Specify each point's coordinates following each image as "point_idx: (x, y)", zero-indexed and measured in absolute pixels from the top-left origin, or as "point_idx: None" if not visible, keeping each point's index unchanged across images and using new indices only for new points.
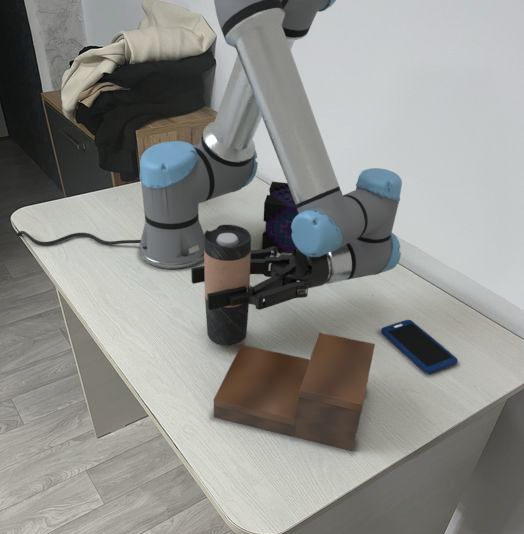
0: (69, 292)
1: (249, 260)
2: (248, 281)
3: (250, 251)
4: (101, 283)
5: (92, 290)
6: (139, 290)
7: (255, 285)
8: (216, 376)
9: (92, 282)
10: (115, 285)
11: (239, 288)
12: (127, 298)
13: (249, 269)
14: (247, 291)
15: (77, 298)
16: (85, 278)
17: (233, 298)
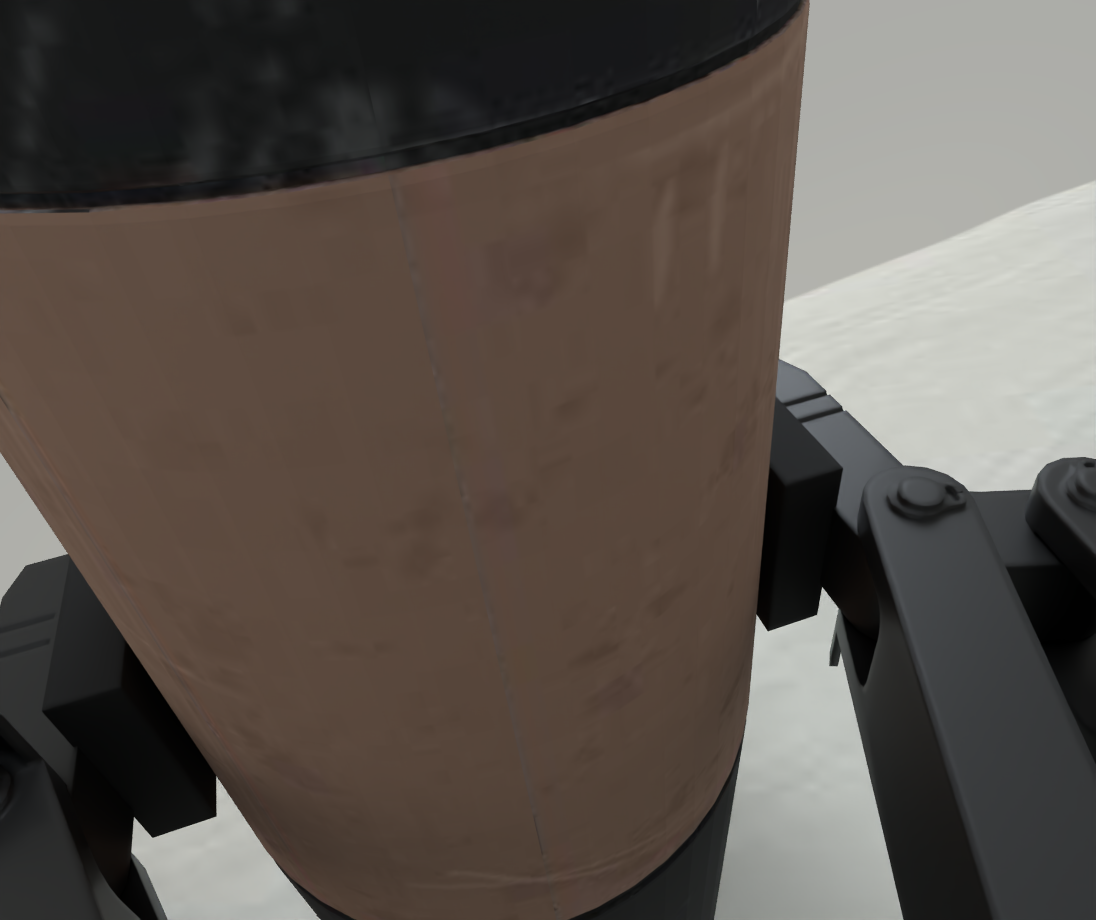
0: (899, 261)
1: (64, 423)
2: (239, 749)
3: (55, 235)
4: (1013, 317)
5: (942, 304)
6: (1021, 431)
7: (86, 879)
8: (199, 850)
9: (1006, 295)
10: (1021, 354)
11: (95, 617)
12: (925, 402)
13: (195, 617)
14: (271, 826)
15: (865, 282)
16: (1026, 275)
17: (13, 590)
